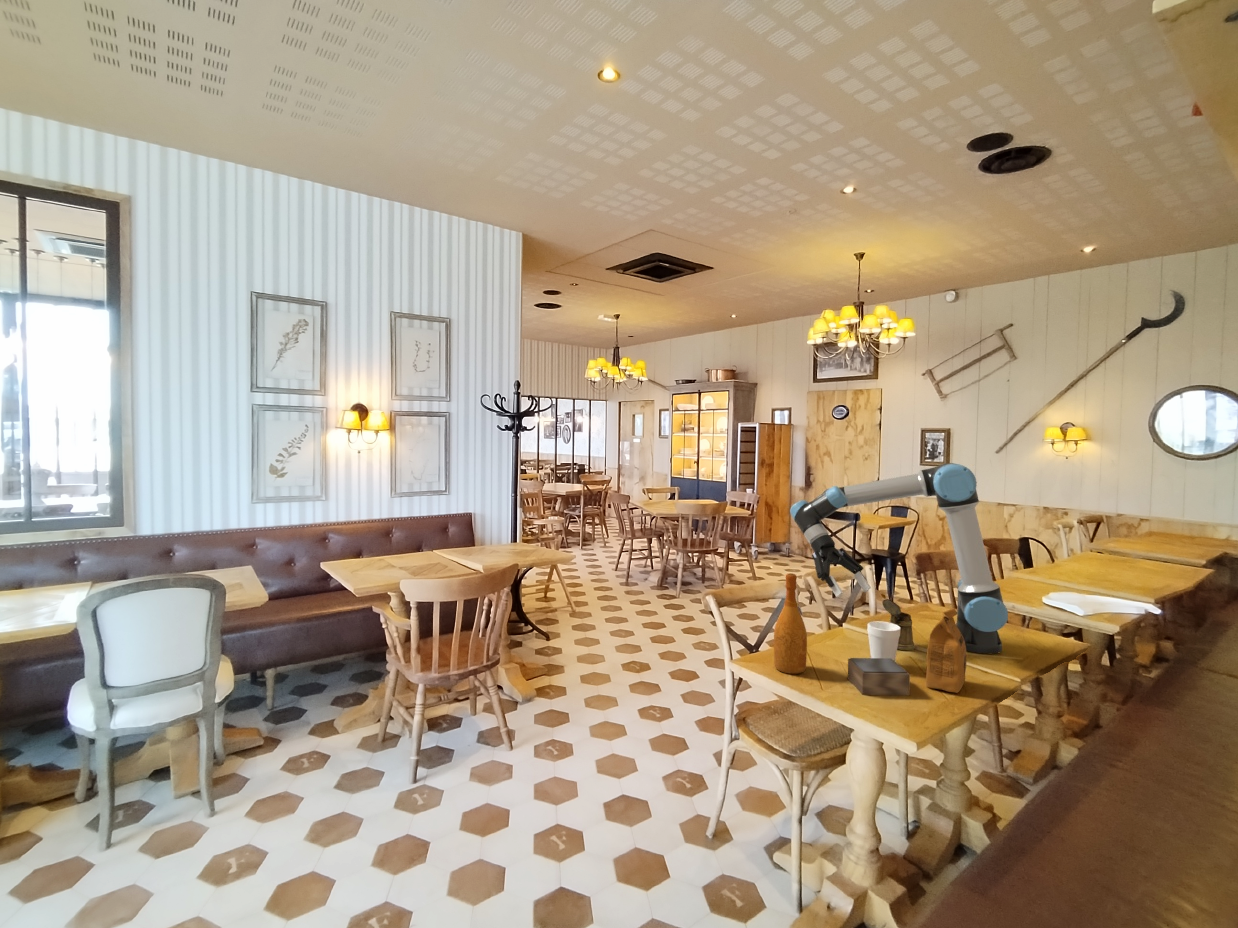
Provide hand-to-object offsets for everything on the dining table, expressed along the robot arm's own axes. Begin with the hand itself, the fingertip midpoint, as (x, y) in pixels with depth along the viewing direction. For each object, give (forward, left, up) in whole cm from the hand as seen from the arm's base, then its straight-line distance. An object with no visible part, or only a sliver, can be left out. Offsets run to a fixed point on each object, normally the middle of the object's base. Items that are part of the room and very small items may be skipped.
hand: (854, 592), depth 190 cm
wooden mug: (-18, -8, -21) cm, 29 cm away
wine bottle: (+24, +12, -21) cm, 34 cm away
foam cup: (-6, +9, -21) cm, 24 cm away
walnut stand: (+2, +24, -21) cm, 32 cm away
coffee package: (-18, +23, -21) cm, 36 cm away
